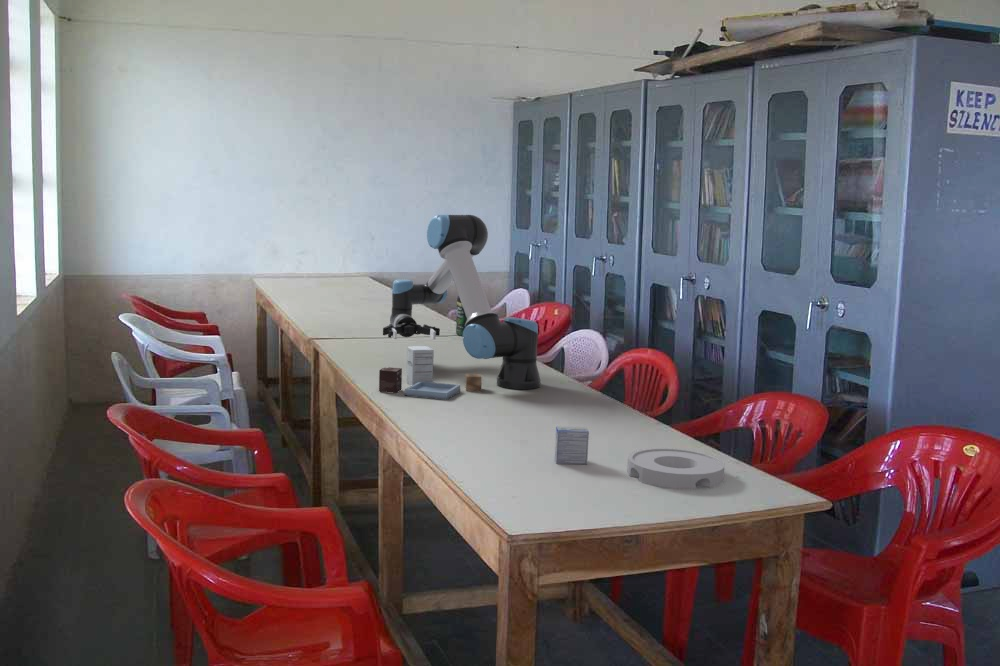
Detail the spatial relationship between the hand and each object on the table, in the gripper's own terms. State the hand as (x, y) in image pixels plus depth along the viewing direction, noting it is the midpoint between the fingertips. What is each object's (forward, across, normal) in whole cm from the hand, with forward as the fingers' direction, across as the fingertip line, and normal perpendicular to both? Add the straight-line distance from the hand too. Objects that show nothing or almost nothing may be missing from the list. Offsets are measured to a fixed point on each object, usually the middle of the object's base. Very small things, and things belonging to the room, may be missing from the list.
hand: (415, 335), depth 342 cm
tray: (+25, -2, -15) cm, 29 cm away
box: (+20, +11, -15) cm, 27 cm away
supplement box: (+10, 0, -15) cm, 19 cm away
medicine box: (+107, -22, -14) cm, 110 cm away
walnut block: (+20, -17, -15) cm, 30 cm away
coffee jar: (-96, -40, -16) cm, 105 cm away
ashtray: (+121, -44, -14) cm, 129 cm away
